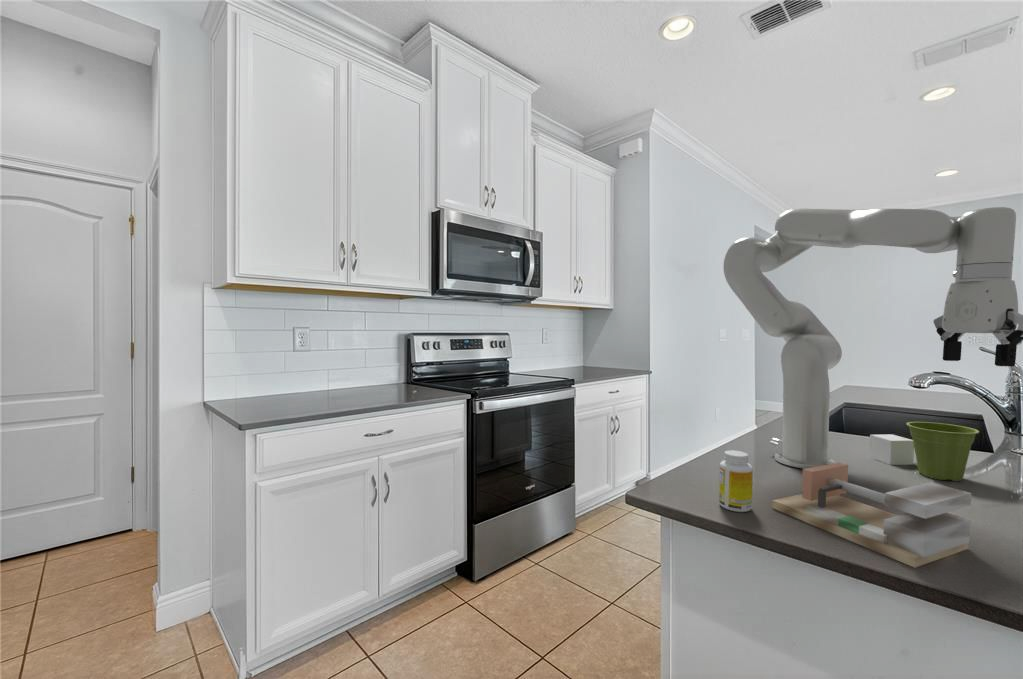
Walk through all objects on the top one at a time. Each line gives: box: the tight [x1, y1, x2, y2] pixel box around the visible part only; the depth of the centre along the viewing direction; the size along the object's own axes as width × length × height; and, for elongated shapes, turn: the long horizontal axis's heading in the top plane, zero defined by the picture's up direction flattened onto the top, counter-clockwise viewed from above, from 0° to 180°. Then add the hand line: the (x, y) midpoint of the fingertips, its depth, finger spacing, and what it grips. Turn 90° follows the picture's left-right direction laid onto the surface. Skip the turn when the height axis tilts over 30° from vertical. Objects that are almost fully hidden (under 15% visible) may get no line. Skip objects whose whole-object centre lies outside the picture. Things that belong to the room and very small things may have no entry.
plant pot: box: [906, 421, 980, 482], centre depth 101 cm, size 12×12×11 cm
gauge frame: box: [771, 481, 972, 569], centre depth 76 cm, size 22×14×9 cm, turn 22°
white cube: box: [868, 433, 915, 466], centre depth 113 cm, size 6×6×6 cm
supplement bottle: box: [718, 449, 754, 513], centre depth 84 cm, size 6×6×10 cm
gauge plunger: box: [801, 462, 885, 508], centre depth 75 cm, size 15×11×5 cm
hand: (976, 363), depth 87 cm, fingers open, 9 cm apart
